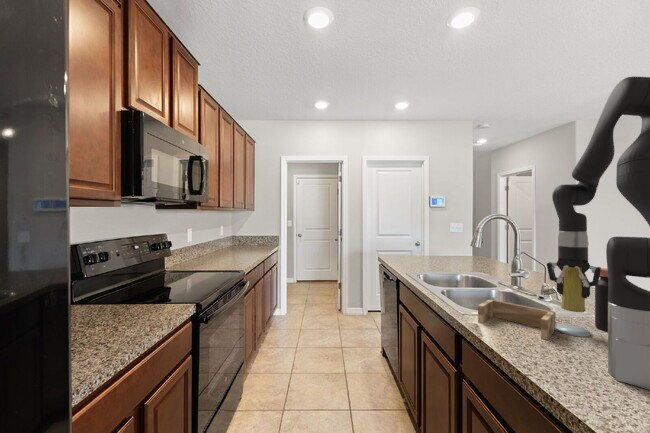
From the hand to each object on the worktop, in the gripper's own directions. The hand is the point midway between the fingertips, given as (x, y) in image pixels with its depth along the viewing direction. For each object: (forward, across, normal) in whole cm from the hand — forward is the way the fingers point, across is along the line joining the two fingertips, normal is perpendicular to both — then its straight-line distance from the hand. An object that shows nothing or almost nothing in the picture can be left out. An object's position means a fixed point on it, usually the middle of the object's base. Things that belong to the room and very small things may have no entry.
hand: (573, 295), depth 96 cm
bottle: (+12, +8, +11) cm, 18 cm away
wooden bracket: (+12, -14, -9) cm, 21 cm away
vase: (+5, 0, 0) cm, 5 cm away
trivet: (+12, 0, 0) cm, 12 cm away
